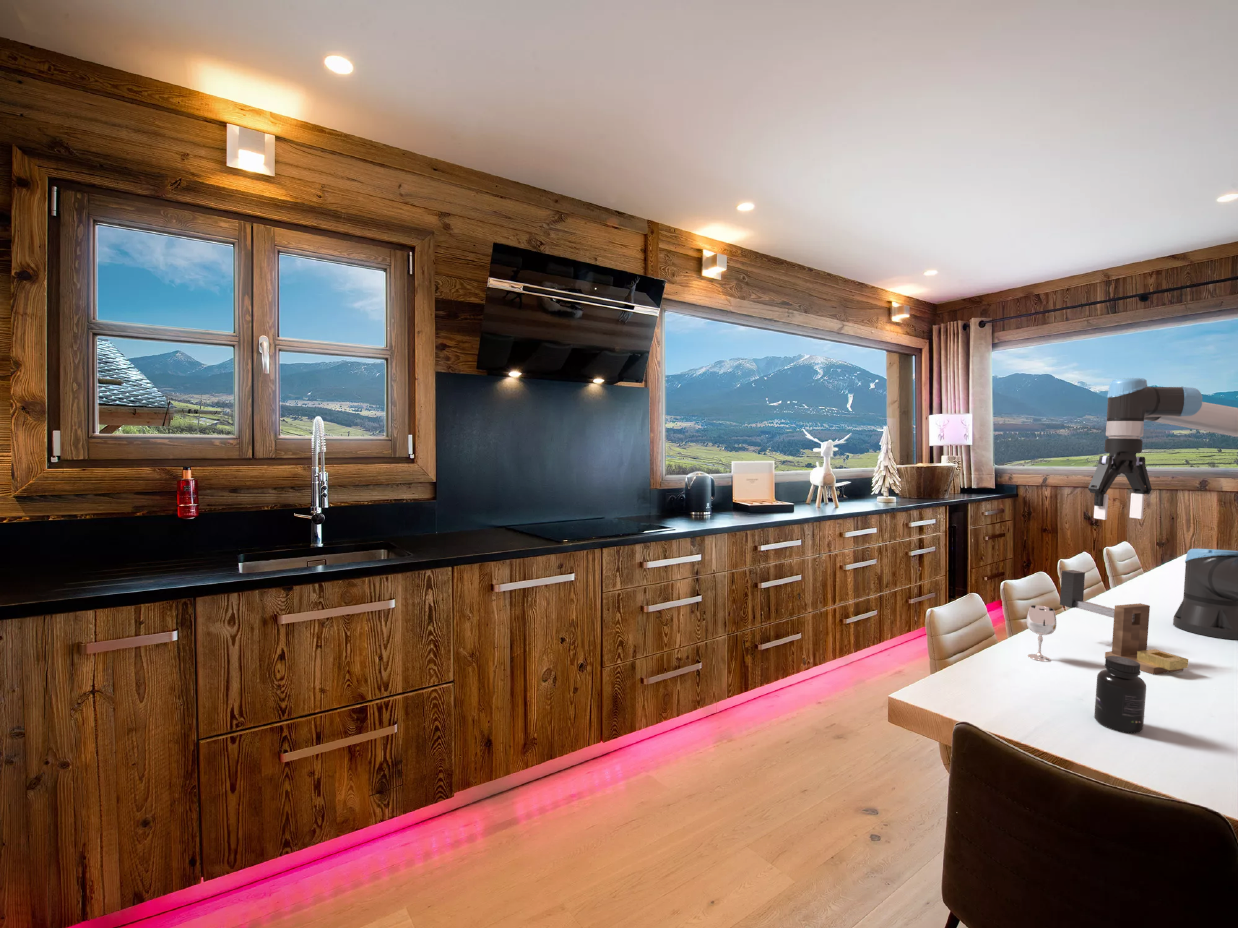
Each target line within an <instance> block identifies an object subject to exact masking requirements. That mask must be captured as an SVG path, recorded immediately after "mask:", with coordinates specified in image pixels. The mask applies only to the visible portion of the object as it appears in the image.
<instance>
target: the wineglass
mask: <svg viewBox="0 0 1238 928" xmlns="http://www.w3.org/2000/svg"><path fill="white" fill-rule="evenodd" d="M1056 615H1057V614H1056V611H1055V609H1054V608H1053V607H1049V606H1044V605H1036V604H1034V605H1030V606H1029V609H1028V612H1027V615H1026V625H1027V626H1026V627H1027V628H1028V630H1030V631H1031V632H1032V633H1034V634H1037V635H1038V636H1037V641H1038V651H1037V653H1031V654H1028V655H1027V657H1028V658H1029V657H1030V659H1032V660H1034V661H1040V662H1051V661H1052V660H1051V659H1052V658H1050V657H1048V656H1045V655H1043V654H1042V645H1043V644H1042V643H1043V640H1044V638H1043V637H1044V636H1048V635H1052V634H1053V633H1054V632H1055V631H1056V629H1057V624H1058V623H1057V616H1056Z"/></svg>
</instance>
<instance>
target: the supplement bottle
mask: <svg viewBox="0 0 1238 928" xmlns="http://www.w3.org/2000/svg"><path fill="white" fill-rule="evenodd" d="M1104 668H1105V669H1103V670H1100V671H1099V672H1098V673H1097V675H1096V686H1095V687H1096V688H1095V698H1094V699H1095V702H1094V716H1093V717H1094V719H1095V721H1096V722H1097V723H1098V724H1100V725H1101V726H1103V727H1105V728H1107V729H1109V730H1110V729H1111V730H1113V731H1115V732H1120V733H1125V734H1139V733H1142V731H1143V730H1144V722H1145V710H1146V709H1145V708H1146V697H1147V684H1146V682H1145V681H1144V680H1143V679H1142V678H1141V677H1139V676H1140V675H1141V673H1142V672H1141V670H1140V663H1138V662H1137V661H1134V660H1132V659H1128V658H1124V657H1119V656H1107V657H1106V658H1105V663H1104Z"/></svg>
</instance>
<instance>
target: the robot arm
mask: <svg viewBox="0 0 1238 928" xmlns="http://www.w3.org/2000/svg"><path fill="white" fill-rule="evenodd" d="M1106 396H1107V406H1106V407H1107V410H1106V426H1105V428H1106V429H1105V436H1106V437H1108V438H1106V439H1104V452H1105V453H1108V455H1100V456H1099V458H1098V463H1097V464H1098V465H1096V469H1095V470H1094V473H1093V476H1092V478H1091V481H1090V483H1089V485H1088V488H1087V489H1088V491H1089V492H1090V493H1091V494H1094V500H1093V501H1094V502H1093V504H1094V508H1093V519H1097V520H1104V521H1105V520H1108V508H1109V507H1108V505H1109V494H1107V492H1108V490H1109V489H1110V487H1111V486H1112V485H1113V483H1114V481H1115V480H1116V479H1117V477H1118V476H1120V475H1121V474H1123V475H1124V476H1125V478H1126V480H1127V481H1128V483H1129V485H1130V487H1131V489H1132V491H1133V492H1131V493H1130V507H1129V518H1130V519H1131V518H1132V519H1139V520H1143V519H1144V509H1145V508H1144V506H1145V495H1150V494H1151V492H1152V490H1153V489H1152V484H1151V481H1150V478H1149V473H1148V470H1147V466H1146V457H1145V456H1137V454H1141V453H1142V452H1143V444H1144V443H1143V440H1142V439H1141V438H1142V437H1144V431H1145V430H1144V425H1145V421H1147V422H1149V421H1150V422H1157V423H1160V424H1167V425H1173V426H1179V427H1184V428H1189V429H1193V430H1199V431H1205V432H1210V433H1215V434H1220V435H1227V436H1231V437H1235V438H1236V437H1237V438H1238V407H1234V406H1228V405H1223V404H1218V403H1216V404H1215V403H1211V402H1205V401H1203V395H1202V392H1201V391H1200V390H1199V389H1198V388H1195V387H1187V386H1185V387H1184V386H1148V382H1147V379H1145V378H1141V377H1130V378H1129V377H1127V378H1125V377H1124V378H1116V379H1112V380H1111V381H1110V383H1109V386H1108V392H1107V395H1106ZM1184 563H1185V566H1184V567H1185V568H1184V569H1185V571H1184V585H1183V596H1182V597H1183V598H1182V600H1181V602H1180V603H1179V606H1178V608H1177V610H1176V612H1174V616H1173V617H1172V618H1173V619H1172V625H1173V626H1174V627H1175V628H1177V629H1181V630H1184V631H1186V632H1190V633H1194V634H1196V635H1202V636H1205V637H1211V638H1212V637H1213V638H1218V639H1225V640H1238V550H1228V549H1211V548H1210V549H1209V548H1190V549H1188V551H1187V552H1186V557H1185V560H1184Z"/></svg>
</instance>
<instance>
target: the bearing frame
mask: <svg viewBox="0 0 1238 928" xmlns="http://www.w3.org/2000/svg"><path fill="white" fill-rule="evenodd" d="M1114 609H1115V610H1114V618H1113V628H1112V629H1113V630H1112V639H1111V640H1112V642H1111V643H1112V644H1111V650H1110V651H1105V653H1104V659H1106V657H1107V656H1119V657H1124V658H1128V659H1132V660H1134V661H1137V662H1138V663H1140V672H1141V671H1142V672H1144V673H1147V674H1150V675H1153V676H1154V675H1159V674H1168V673H1173V672H1183V671H1184V669H1176V670H1167V669H1164V668H1161V667H1158V666H1155V665H1152V664H1148V663H1145V662H1142V661H1139V660H1137V651H1143V650H1148V638H1149V637H1148V636H1149V623H1150V609H1151V606H1150V605H1149V604H1145V603H1131V604H1130V603H1128V604H1118V605H1117V604H1116V605H1114ZM1133 614H1135V621H1134V622H1132V616H1133Z"/></svg>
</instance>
